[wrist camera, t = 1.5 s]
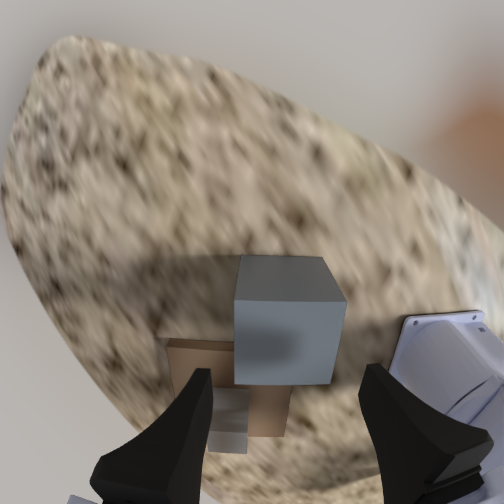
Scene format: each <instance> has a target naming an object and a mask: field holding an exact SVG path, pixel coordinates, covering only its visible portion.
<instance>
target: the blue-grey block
mask: <svg viewBox="0 0 504 504" xmlns="http://www.w3.org/2000/svg"><path fill="white" fill-rule="evenodd" d="M346 305H347V301H346V299H345V297H344V295H343V293H342V292H341V290H340V288H339V286H338V284H337V282H336V281H335V279H334V277H333V275H332V273H331V272H330V270H329V268H328V266H327V264H326V263H325V261H324V259H323V257H296V256H262V255H241V260H240V266H239V272H238V278H237V284H236V291H235V297H234V375H235V384H245V385H318V384H330V382H331V378H332V373H333V369H334V365H335V360H336V356H337V351H338V347H339V342H340V337H341V332H342V327H343V322H344V316H345V311H346Z"/></svg>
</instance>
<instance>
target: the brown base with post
mask: <svg viewBox="0 0 504 504" xmlns="http://www.w3.org/2000/svg"><path fill="white" fill-rule="evenodd" d="M166 348H167V354H168V361H169V366H170V372H171V378H172V383H173V389H174V394H175V399H176V397H177V396H178V395H179V393H180V392H181V391H182V389H183V388H184V386H185V385H186V383H187V382H188V380H189V379H190V377H191V376H192V374H193V372H194V370H195V369H196V368H211V378H212V388H213V398H214V401H213V412H212V420H211V425H210V429H209V434H208V439H207V444H208V451H209V452H221V453H237V454H247V440H248V437H284V433H285V427H286V421H287V415H288V409H289V403H290V396H291V390H292V385H245V384H235V375H234V343H233V342H214V341H198V340H185V339H173V338H170V339H169V342H168V344H167V346H166Z"/></svg>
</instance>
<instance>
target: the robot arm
mask: <svg viewBox="0 0 504 504" xmlns="http://www.w3.org/2000/svg"><path fill="white" fill-rule="evenodd" d="M484 315H485V313H484V312H483V311H471V312H461V313H449V314H436V315H421V316H409V317H407V318H406V319H405V321H404V324H403V328H402V331H401V335H400V338H399V341H398V344H397V348H396V351H395V354H394V357H393V360H392V363H391V366H390V369H389V372H388V371H387V370H386V369H385V368H383V367H382V366H381V365H380V364H379V363H376V364H367V366H366V370H365V373H364V377H363V380H362V383H361V386H360V390H359V393H358V397H359V402H360V407H361V411H362V414H363V417H364V420H365V423H366V425H367V428H368V431H369V433H370V436H371V439H372V442H373V444H374V447H375V451H376V454H377V458H378V463H379V468H380V474H381V480H382V487H383V496H384V504H504V343H503V342H502V341H501V340H500V339H499V338H498V337H497V336H496V335H495V334H494V333H493V332H492V331H491V330H490V329H489V328H488V327H487V326H486V325H485V324H484V323H483V319H484ZM473 316H474V317H473ZM416 320H417V321H416ZM414 321H416V322H415V323H414ZM213 401H214V398H213V388H212V378H211V368H196V369H195V370H194V372H193V374H192V376H191V377H190V379H189V380H188V382H187V383H186V385H185V386H184V388H183V389H182V391H181V392H180V393H179V395H178V396H177V397H176V399H175V400H174V401H173V402H172V403H171V405H170V406H169V407H168V408H167V409H166V410H165V411H164V412H163V414H162V415H161V416H160V417H159V418H158V419H157V420H155V421H154V422H153V423H152V424H151V425H150V426H149V427H148V428H146V429H145V430H144V431H143V432H142V433H140V434H139V435H138V436H136V437H135V438H133V439H132V440H130V441H129V442H127V443H126V444H124V445H123V446H121V447H120V448H117V449H116V450H113V451H112V452H110V453H108V454H106V455H103V456H101V457H100V459H99V461H98V463H97V464H96V466H95V468H94V471H93V473H92V476H91V478H90V485H91V487H92V488H93V489H94V491H95V492H96V493H97V494H98V495H99V496H100V497H101V498H102V499H103V503H102V504H199V500H200V486H201V474H202V463H203V457H204V452H205V448H206V443H207V439H208V434H209V429H210V425H211V420H212V412H213ZM67 504H97V503H95V502H92V501H89V500H86V499H83V498H81V497H78V496H75V495H70V498H69V501H68V503H67Z"/></svg>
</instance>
